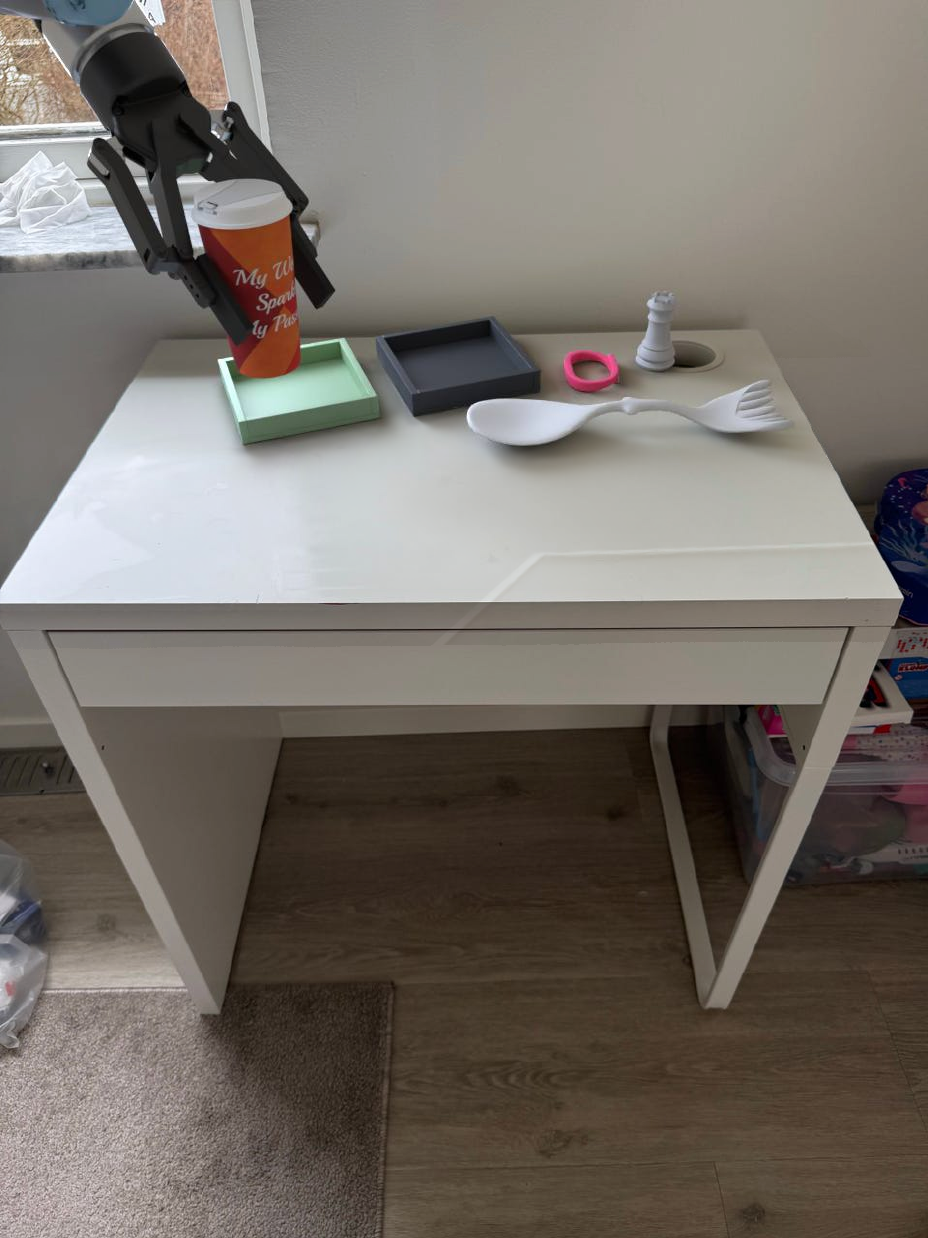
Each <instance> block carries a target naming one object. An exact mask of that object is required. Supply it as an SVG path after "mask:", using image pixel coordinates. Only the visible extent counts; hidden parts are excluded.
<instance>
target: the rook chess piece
mask: <svg viewBox="0 0 928 1238" xmlns="http://www.w3.org/2000/svg"><path fill="white" fill-rule="evenodd" d="M668 292H669V291H667V290H663V291H662V294H661V293H660V291H659V290H657V291H655V292H654V293H651V295H650V299H649V300H648V301H647V302H646V305H647V307H648V309H649V314H648V315H647V319H648V325H647V329H646V332H645V336H644V338H643V339H642V341H641V343H640V344H639V345H638V348H636V349H637V350H636V353H637V354H636V356H635V361H636V363H637V365H638V367H640V368H642V369H643V370H645V371H650V372H664V371H667V370H668V369H670V368H672V366H674V364H675V361H676V360H675V356H676V350H675V347H674V346H673V341H672V339H671V326H672V325H671V324H672V322H673V320H674V316H673V312H674V310H676V308H677V307H678V303H677V302H676V300H675V298H676V296H675V294H674V293H673V292H670V293H669V295H668Z"/></svg>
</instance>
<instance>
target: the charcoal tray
mask: <svg viewBox="0 0 928 1238" xmlns="http://www.w3.org/2000/svg"><path fill="white" fill-rule="evenodd" d="M375 349H376V357H377V359H378V360H379V362H380V364H381V366H382V367H383V369H384V370H385V372H386V374H387V376H388V378H389V379H390V380H391V382H392V384H393V385H394V387H395V388H396V390H397V392H398V394H399V395H400V397H401V399H402V400H403V403H404V404H405V405H406V408H408V410H409V412H410V414H411V415H412V417H417V416H423V415H427V414H428V415H429V414H432V413H433V414H434V413H438V412H442V411H448V410H453V409H458V408H463V407H469V406H472V405H473V404H475V403H478V402H481V401H486V400H493V399H511V398H515V397H519V396H524V395H525V396H526V395H531V394H536V393H540V392H541V377H542V376H541V375H542V374H541V371H542V370H541V369H540V368H539V367H538V366H537V364H536V363H535V362H534V361H533V359H532V358H531V357H530V356H529V355H528V353H526V351H524V349H523V348H522V347H521V346H520V344H518V342H517V341H516V340H515V339H514V338H513V336H512V335H511V334H510V333H509V332H508V330H506V328H505V327H504V326H503V325H502V324H501V322H500V321H499V320H498V318H496V316H494V315H492V316H491V315H490V316H487V317H486V316H485V317H479V318H475V319H469V320H462V321H457V322H456V321H455V322H450V323H445V324H439V325H434V326H427V327H423V328H417V329H409V330H405V331H399V332H393V333H387V334H381V335H376V336H375Z"/></svg>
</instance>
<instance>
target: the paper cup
mask: <svg viewBox="0 0 928 1238" xmlns="http://www.w3.org/2000/svg"><path fill="white" fill-rule="evenodd" d="M292 208H293V206H292V203H291V202H290V200H289V199H287V197H286V195H285V192H284V191H283V190H282V187H281V186H280V185H279V184H277V183H275V182H271V181H267V180H261V179H238V180H237V179H234V180H227V181H222V182H218V183H216V182H213V183H210V184H209V185H206V186H203V187H202V188H200V189H198V190H197V192H195V194H194V197H193V208H192V210H191V213H190V217H191V220H192V221H193V222H194V223H196V224H197V228H198V232H199V235H200V239H201V243H202V246H203V251H204V253H206V254H207V256H208V257H209V259H210V260H211V262H212V263H213V265H214V266H215V268H216V269H217V271H218V272H219V274H220V275H221V277H222V278H223V280H224V281H225V283H226V284H227V286H228V287H229V289H230V290H231V292H232V293H233V295H234V296H235V298H236V299H237V301H238V302H239V304H240V305H241V307H242V308H243V310H244V311H245V313H246V314H247V316H248V317H249V319H250V321H251V322H252V324H253V325H254V329H253V330H252V331H251V333H250V334H249V336H248V337H247V338H246V340H245V341H244V343H242V344H240V345H238V346H235V344H234V343H233V341H232V340H231V338H230V337H229V335H228V334H227V332H226V331H225V333H226V337H227V341H228V345H229V349H230V352H231V355H232V356H231V357H233V359H234V362H235V365H236V368H237V370H238V371H239V372H240V373H241V374H243V375H245V376H248V377H252V378H274V377H279V376H282V375H285V374H288V373H290V372H292V371H293V370H295V369H296V368H297V367H298V366H299V365H300V362H301V350H300V345H301V337H300V335H301V334H300V323H299V312H298V299H297V289H296V278H295V275H294V264H293V252H292V241H291V229H290V218H289V214H290V213H291V211H292Z"/></svg>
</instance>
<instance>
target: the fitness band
mask: <svg viewBox="0 0 928 1238" xmlns="http://www.w3.org/2000/svg"><path fill="white" fill-rule="evenodd" d="M580 361H595V362H599V363H601V364H603V365H605V366H606V368H607V369H608V371H609V374H610V375H609V376H607V377H605V378H602V379H597V380H589V379H588V380H587V379H583V378H581V377H578V375H576V374H575V371H574V367H573V365H574V364H575V363H578V362H580ZM563 370H564V375H565V378H566V381H567V383H568V384H569V386H570V387H571V388H573V389H575V390H577V391H579V392H596V391H600V390H603V389H606V388H609V387H610V386H611V385H613V384H619V383H620V376H619V373H620V369H619V364H618V362H617V359H616V357H615V355H614V354H613V353H608V354H607V355H606V354H603V353H601V352H599V351H594V350H587V349H577V350H574V351H573V350H572V351H571V352H569V353H568V354H566V356H565V357H564V361H563Z"/></svg>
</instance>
